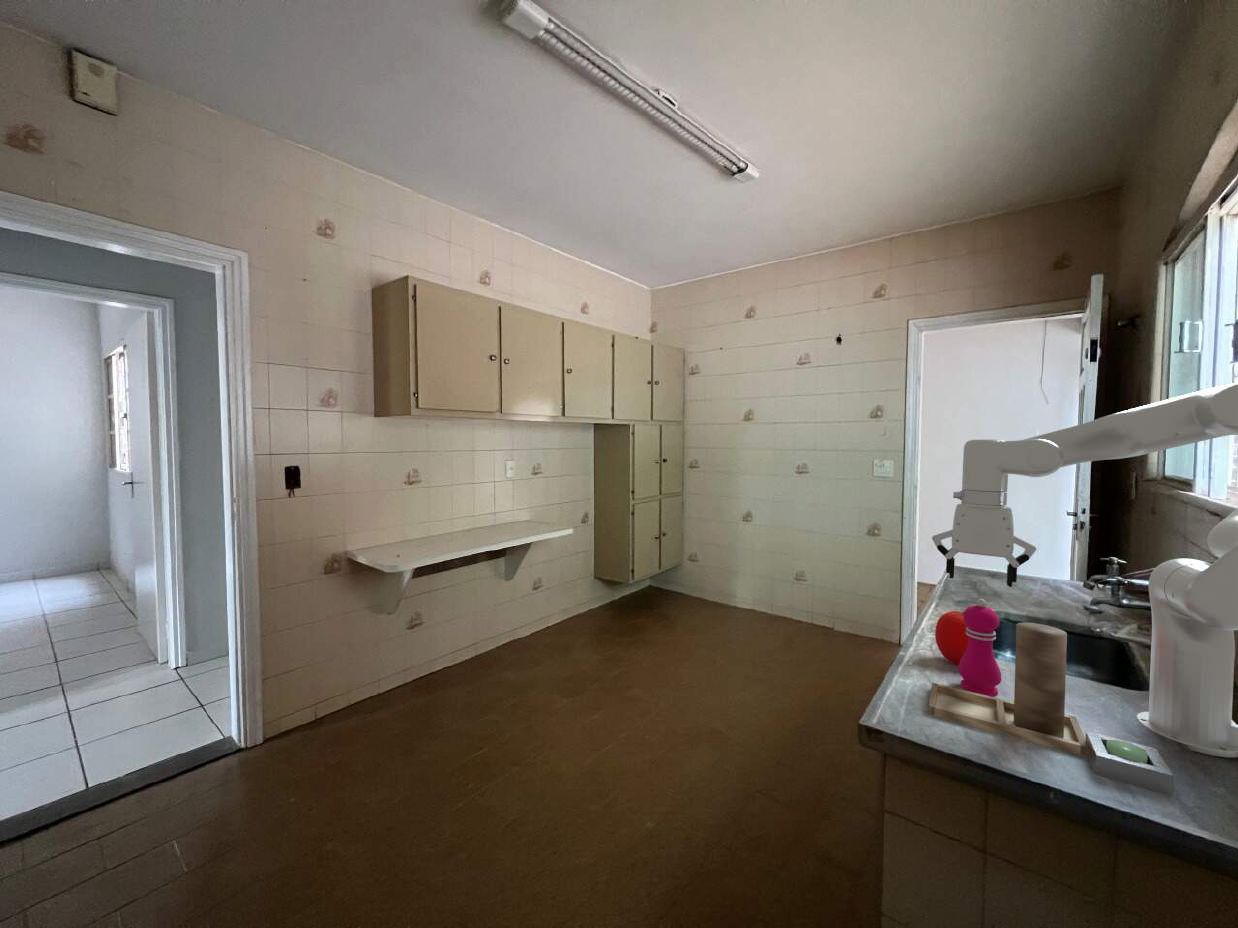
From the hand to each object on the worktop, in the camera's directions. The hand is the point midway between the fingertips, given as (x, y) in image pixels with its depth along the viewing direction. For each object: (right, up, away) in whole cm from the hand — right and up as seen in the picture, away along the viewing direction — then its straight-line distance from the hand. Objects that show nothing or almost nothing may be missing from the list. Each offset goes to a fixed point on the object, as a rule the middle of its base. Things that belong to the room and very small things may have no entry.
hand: (979, 581), depth 101 cm
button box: (+4, -24, -25) cm, 35 cm away
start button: (+4, -24, -26) cm, 35 cm away
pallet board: (-4, -24, -11) cm, 27 cm away
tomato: (+6, -24, +14) cm, 28 cm away
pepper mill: (0, -24, 0) cm, 24 cm away
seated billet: (0, -23, -14) cm, 27 cm away
